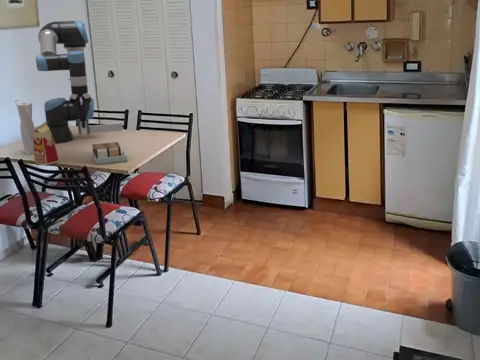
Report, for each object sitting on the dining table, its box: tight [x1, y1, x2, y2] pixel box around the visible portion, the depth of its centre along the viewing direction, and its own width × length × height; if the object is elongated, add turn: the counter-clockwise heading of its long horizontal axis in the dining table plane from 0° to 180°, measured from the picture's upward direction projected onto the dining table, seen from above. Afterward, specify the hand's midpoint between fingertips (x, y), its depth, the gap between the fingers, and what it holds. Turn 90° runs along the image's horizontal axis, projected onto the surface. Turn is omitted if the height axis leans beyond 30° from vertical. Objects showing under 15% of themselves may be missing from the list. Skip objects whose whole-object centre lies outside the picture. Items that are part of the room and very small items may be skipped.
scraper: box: [77, 118, 124, 136], centre depth 274 cm, size 21×4×7 cm, turn 109°
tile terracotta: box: [109, 148, 119, 157], centre depth 280 cm, size 4×4×4 cm
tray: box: [92, 150, 128, 166], centre depth 278 cm, size 15×10×3 cm, turn 108°
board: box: [91, 141, 122, 158], centre depth 287 cm, size 13×11×5 cm
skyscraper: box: [14, 99, 35, 155], centre depth 289 cm, size 8×8×28 cm
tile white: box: [97, 149, 108, 158], centre depth 278 cm, size 4×4×4 cm
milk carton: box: [33, 121, 60, 166], centre depth 273 cm, size 9×9×20 cm
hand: (84, 132), depth 273 cm, fingers closed on scraper, 4 cm apart
